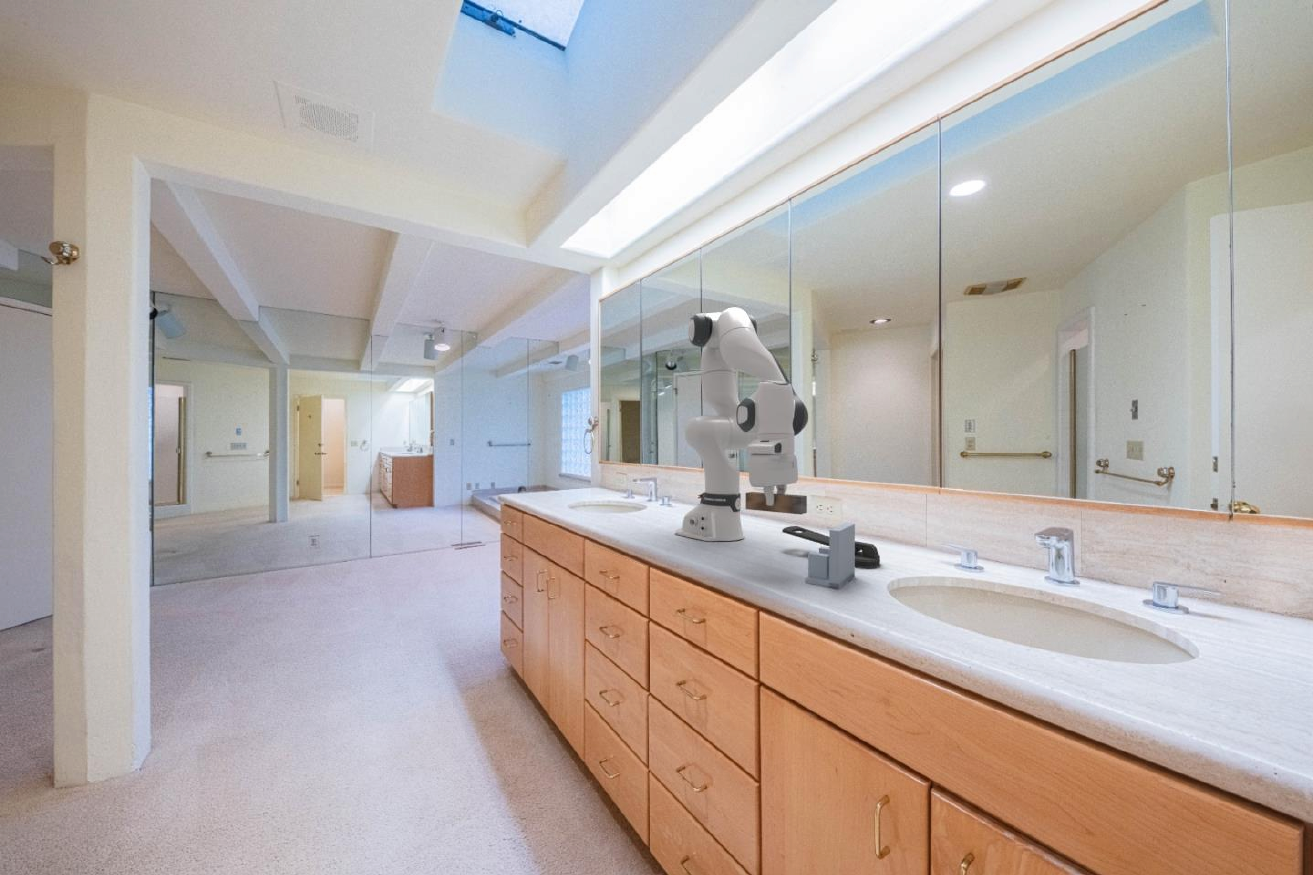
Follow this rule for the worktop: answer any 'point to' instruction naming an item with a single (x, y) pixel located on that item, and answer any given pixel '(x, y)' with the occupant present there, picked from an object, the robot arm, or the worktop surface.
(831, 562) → the post block
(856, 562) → the black stapler
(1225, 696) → the worktop surface
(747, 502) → the brown long rectangular block
